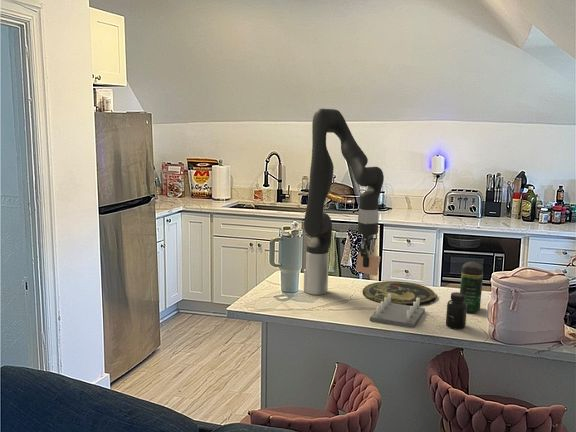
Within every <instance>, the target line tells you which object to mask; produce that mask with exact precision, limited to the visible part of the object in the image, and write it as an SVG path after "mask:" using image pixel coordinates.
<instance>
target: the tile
mask: <svg viewBox="0 0 576 432" xmlns="http://www.w3.org/2000/svg"><path fill="white" fill-rule="evenodd" d="M364 254H366V253H364ZM369 256H370V257H369V267H363V257H361V254H360V251H359V252H357V259H356V263H355V265H356V266H355V271H356V272H358V273H362V274H367V275H370V276H374V277H376V276H377V275H379V274H378V273H379V267H380V262H381V256H380V255H379V256H378V255H375V254H373V253H372V254H370V255H369Z"/></svg>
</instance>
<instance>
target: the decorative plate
mask: <svg viewBox="0 0 576 432" xmlns="http://www.w3.org/2000/svg"><path fill="white" fill-rule="evenodd" d="M388 294H391V303H394V304H401V305H407V306H413V302H416V299H417V298H420V303H419V307H421V306H422V307H423V306H427V305H429V304H433V303H434V302H435V301H436V299H437V295H436V292H435V291H434V290H433V289H431V288H429V287H428V286H425V285H421V284H418V283H414V282H407V281H399V280H398V281H396V280H395V281H394V280H393V281H392V280H391V281H390V280H389V281H388V280H387V281H377V282H374V283H370V284H367V285H366V286H365V287H364V288H363V289H362V295H363V297H364V298H365V299H367V300H368V301H369V300H370V301H371V302H374V303H378V304H380V305H381V301H383V302H384V298H388ZM387 302H388V301H387Z"/></svg>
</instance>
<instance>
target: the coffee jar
mask: <svg viewBox="0 0 576 432" xmlns="http://www.w3.org/2000/svg"><path fill="white" fill-rule="evenodd" d="M483 279H484V266H483V265H482V264H481V262H477V261H476V262H475V261H468V262H465V263H463V265H462V267H461V275H460V284H459V285H460V288H459V293H463V294H465V302H466V303H467V313H468V314H471V313H474V314H477V313H478V312H480V309H481V302H482V292H483V291H482V290H483V281H484V280H483Z"/></svg>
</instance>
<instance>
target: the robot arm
mask: <svg viewBox="0 0 576 432" xmlns="http://www.w3.org/2000/svg"><path fill="white" fill-rule="evenodd" d="M311 123H312V124H311V125H312V128H311V129H312V132H311V133H312V137H311V138H312V140H311V141H312V145H311V146H312V149H311V161H310V170H309V171H310V172H309V182H308V183H309V185H308V195H307V204H306V208H305V209H306V210H305V215H304V217H303V218H304V219H303V229H304V232H305V233H306V235H307V236H308V237H310V240H309V241H308V242H307V244H306V256H305V257H306V258H305V261H306V262H305V269H304V270H303V292H304V293H307V294H309V295H314V296H317V295H318V296H319V295H325V294H327V293H328V290H329V289H328V287H329V262H330V261H329V256H330V253H329V252H330V247H331V244H332V236H333V235H332V234H333V223H332V221H333V220H332V218H331V216H330V215H329V214H328V213H326V212H324V206H325V203H326V202H325V201H326V200H327V197H328V195H329V192H330V190H331V187H332V184H333V177H334V169H335V168H334V163H333V160H332V158H331V155H330V152H329V151H328V147H327V133H330V134H331V133H333V134H335V135H336V137H337V138H338V139H339V142H340V151H341V155H342V156H343V158H344V160H345V161H346V162H347V164H348V165H349V166H350V169H351V171H352V175H353V179H354V180H355V182H356V184H357V185H358V186H360V187H363V188H365V187H367V189H366V191H364V192H362V193H360V195H359V197H358V199H359V200H358V202H359V203H358V214H357V215H358V216H357V233H358V234H359V235H361V236H362V237H361V239H360V240H361V241H360V243H359V244H358V246H359V252H360V254H361V257H363V267H369V257H370V256H369V255H370V254H372V255H373V254H374V252H375V245H376V240H377V239H376V237H374V236H375V235H377V234H379V222H380V220H379V218H380V217H379V213H380V212H379V198H380V195H381V191H382V188H383V185H384V179H385V177H384V172H383V169H382V168H380V167H379V166H367V165H368V162H369V161H368V160H369V159H368V157H367V155H366V154H365V153H364V151H363V150H362V148H361V146H359V144H358V143H357V141H356V140H355V138H354V136H353V134H352V132H351V130H350V128H349V126H348V124H347V121H346V119H345V118H344V116H343V114H342V113H341V112H340V110H338V109H335V108H318V109H317V110H315V112H314V113H313V116H312V122H311ZM366 166H367V167H366ZM364 253H366V254H364Z"/></svg>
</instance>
